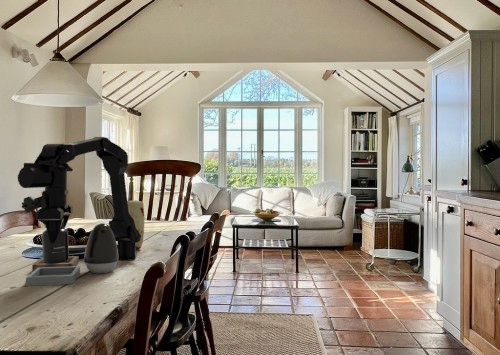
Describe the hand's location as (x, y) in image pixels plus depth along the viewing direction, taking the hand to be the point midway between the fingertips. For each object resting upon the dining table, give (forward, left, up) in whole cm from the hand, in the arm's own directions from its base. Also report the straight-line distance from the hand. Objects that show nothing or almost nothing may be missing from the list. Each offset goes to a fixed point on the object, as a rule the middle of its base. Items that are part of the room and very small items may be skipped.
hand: (55, 240), depth 119 cm
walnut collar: (+3, -14, -11) cm, 18 cm away
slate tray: (0, 0, -11) cm, 11 cm away
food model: (-19, -43, -11) cm, 49 cm away
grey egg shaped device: (-12, -7, -11) cm, 18 cm away
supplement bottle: (0, 0, -6) cm, 6 cm away
